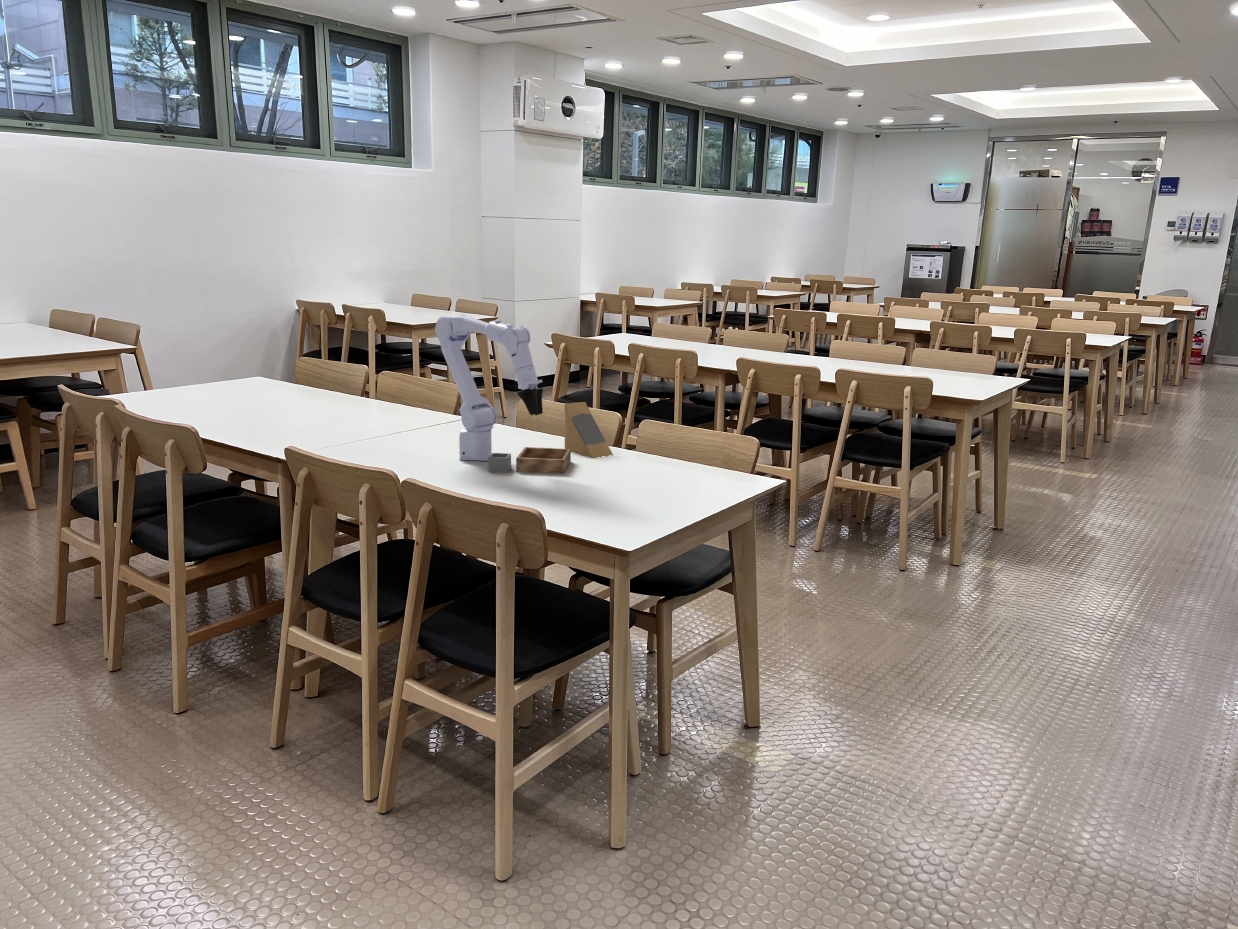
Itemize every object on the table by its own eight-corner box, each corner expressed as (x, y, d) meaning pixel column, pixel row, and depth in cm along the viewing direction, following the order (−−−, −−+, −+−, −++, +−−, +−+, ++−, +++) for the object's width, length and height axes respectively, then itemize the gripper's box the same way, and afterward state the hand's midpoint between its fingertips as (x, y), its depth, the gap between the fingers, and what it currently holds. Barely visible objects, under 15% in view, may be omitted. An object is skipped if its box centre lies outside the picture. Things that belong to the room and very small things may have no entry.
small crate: (488, 472, 251) (488, 457, 250) (492, 467, 256) (492, 452, 255) (507, 473, 250) (507, 458, 249) (511, 468, 256) (511, 453, 255)
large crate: (516, 471, 252) (516, 458, 251) (525, 459, 265) (525, 447, 264) (564, 473, 251) (564, 460, 250) (570, 461, 264) (570, 448, 263)
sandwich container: (593, 459, 269) (594, 411, 265) (563, 449, 280) (563, 403, 277) (614, 455, 274) (615, 408, 271) (584, 446, 286) (585, 401, 282)
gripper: (532, 363, 241) (545, 410, 242) (542, 366, 255) (554, 410, 256) (508, 370, 242) (521, 417, 242) (519, 372, 256) (531, 417, 257)
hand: (536, 414), depth 249 cm, fingers open, 7 cm apart
